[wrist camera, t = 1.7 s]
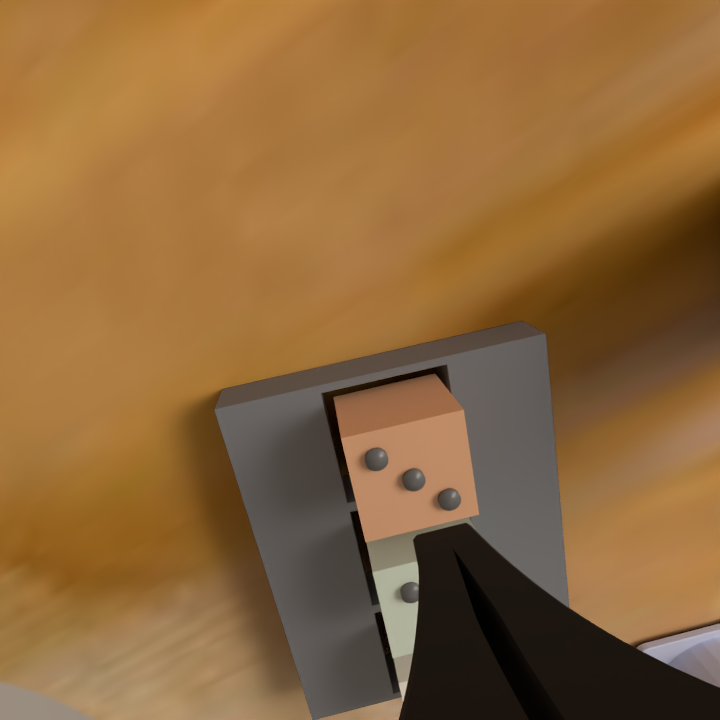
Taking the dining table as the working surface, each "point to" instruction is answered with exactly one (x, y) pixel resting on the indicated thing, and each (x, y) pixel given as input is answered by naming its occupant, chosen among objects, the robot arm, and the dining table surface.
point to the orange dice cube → (407, 456)
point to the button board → (337, 501)
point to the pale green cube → (399, 585)
